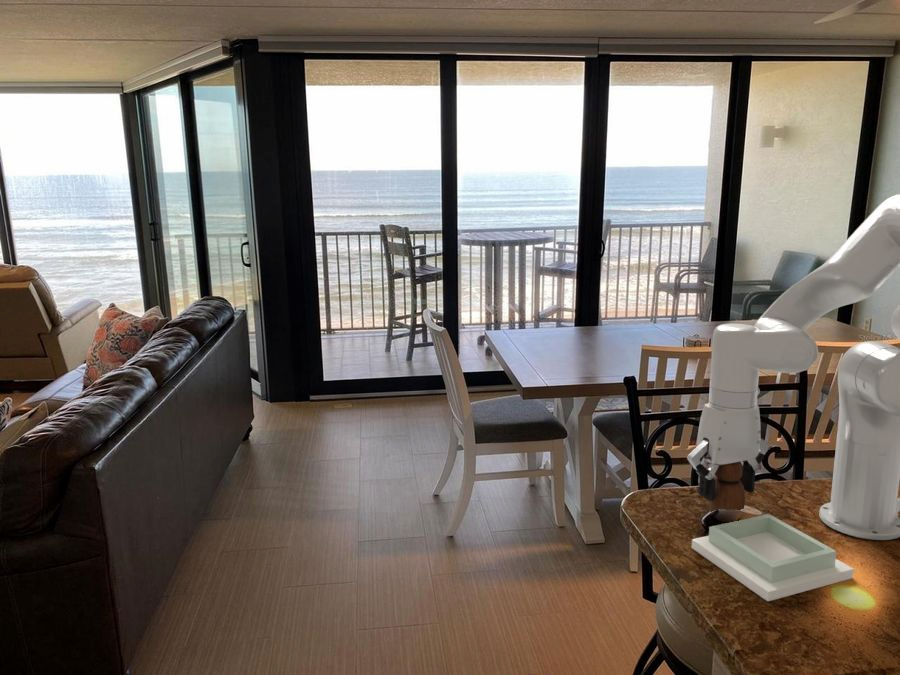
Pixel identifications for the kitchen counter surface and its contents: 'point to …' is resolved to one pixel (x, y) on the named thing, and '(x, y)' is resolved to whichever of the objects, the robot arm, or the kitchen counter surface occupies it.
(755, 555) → the ceramic stand
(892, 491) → the robot arm
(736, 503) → the wooden figurine
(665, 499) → the kitchen counter surface
